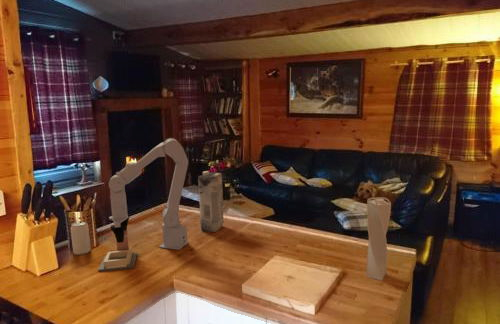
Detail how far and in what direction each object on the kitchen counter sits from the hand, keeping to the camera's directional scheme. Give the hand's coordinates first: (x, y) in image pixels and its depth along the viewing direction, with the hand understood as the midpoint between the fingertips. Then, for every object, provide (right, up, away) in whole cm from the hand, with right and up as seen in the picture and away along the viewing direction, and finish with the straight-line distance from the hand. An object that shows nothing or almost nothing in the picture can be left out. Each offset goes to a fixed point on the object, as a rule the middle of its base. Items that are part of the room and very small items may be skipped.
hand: (121, 238), depth 146 cm
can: (-17, -6, +2) cm, 18 cm away
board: (+2, -7, -9) cm, 12 cm away
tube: (0, -5, +1) cm, 6 cm away
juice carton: (+34, -1, +24) cm, 41 cm away
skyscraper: (+93, -8, -24) cm, 97 cm away
